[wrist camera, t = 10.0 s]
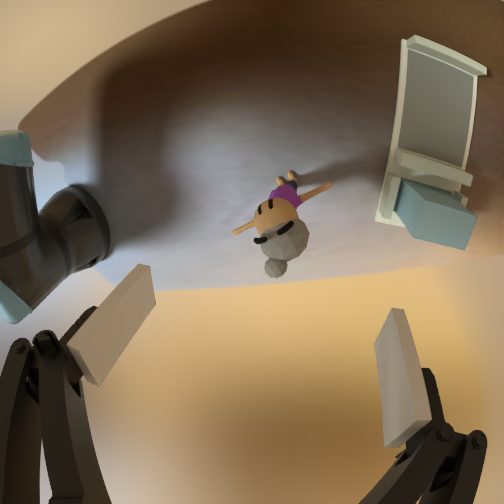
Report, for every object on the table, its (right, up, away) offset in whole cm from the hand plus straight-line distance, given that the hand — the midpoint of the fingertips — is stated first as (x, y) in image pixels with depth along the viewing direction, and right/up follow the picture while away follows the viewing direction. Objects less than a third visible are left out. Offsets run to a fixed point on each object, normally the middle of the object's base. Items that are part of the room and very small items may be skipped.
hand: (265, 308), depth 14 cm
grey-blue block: (+20, +9, +15) cm, 27 cm away
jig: (+21, +16, +12) cm, 29 cm away
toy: (+4, +11, +19) cm, 22 cm away
